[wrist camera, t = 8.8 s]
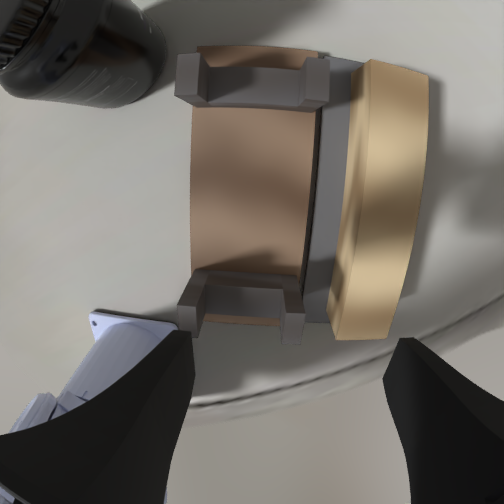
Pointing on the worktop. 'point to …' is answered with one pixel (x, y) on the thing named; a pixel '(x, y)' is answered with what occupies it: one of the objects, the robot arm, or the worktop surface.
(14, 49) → the supplement bottle
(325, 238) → the mat
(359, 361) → the worktop surface
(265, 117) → the stand
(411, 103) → the rail
